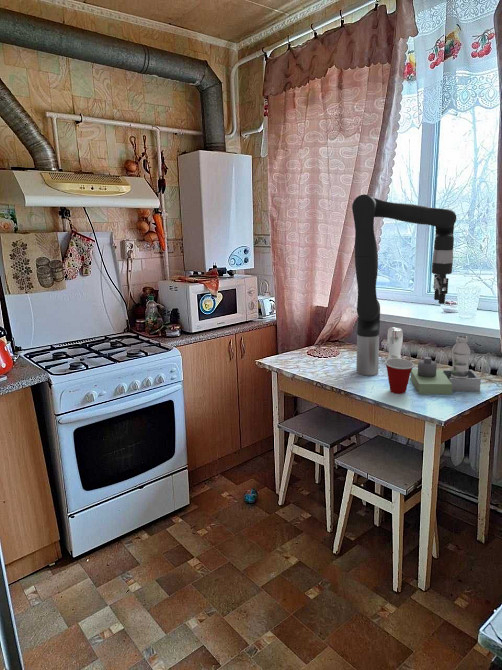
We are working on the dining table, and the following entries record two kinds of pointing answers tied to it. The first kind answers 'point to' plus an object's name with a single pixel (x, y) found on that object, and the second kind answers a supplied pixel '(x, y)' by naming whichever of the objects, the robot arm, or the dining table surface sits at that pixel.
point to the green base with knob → (430, 378)
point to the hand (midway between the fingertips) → (439, 301)
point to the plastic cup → (398, 374)
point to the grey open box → (464, 381)
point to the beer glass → (394, 342)
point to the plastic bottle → (460, 358)
